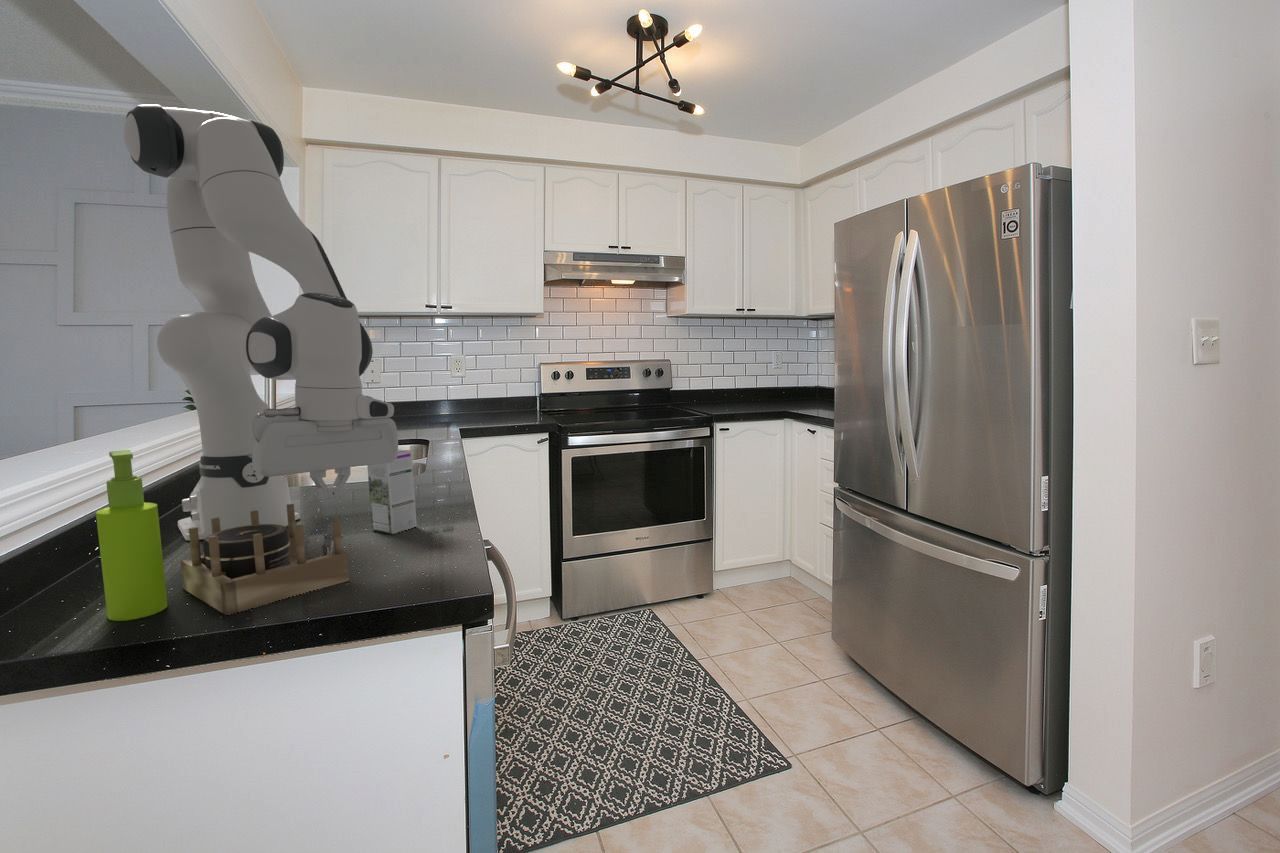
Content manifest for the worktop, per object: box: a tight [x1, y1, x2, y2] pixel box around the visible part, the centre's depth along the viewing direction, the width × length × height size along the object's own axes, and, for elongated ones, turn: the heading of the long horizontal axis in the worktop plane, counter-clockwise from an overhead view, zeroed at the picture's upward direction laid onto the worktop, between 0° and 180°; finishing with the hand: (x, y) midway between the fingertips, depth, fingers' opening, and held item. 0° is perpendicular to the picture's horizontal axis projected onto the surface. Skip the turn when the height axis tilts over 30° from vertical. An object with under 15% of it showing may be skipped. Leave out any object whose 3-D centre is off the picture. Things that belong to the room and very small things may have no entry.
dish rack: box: [180, 503, 350, 616], centre depth 88 cm, size 15×15×9 cm
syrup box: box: [366, 448, 418, 535], centre depth 115 cm, size 6×6×14 cm
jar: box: [202, 524, 290, 579], centre depth 87 cm, size 10×10×8 cm
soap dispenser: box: [95, 449, 168, 622], centre depth 79 cm, size 6×7×20 cm
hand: (330, 498), depth 96 cm, fingers closed
